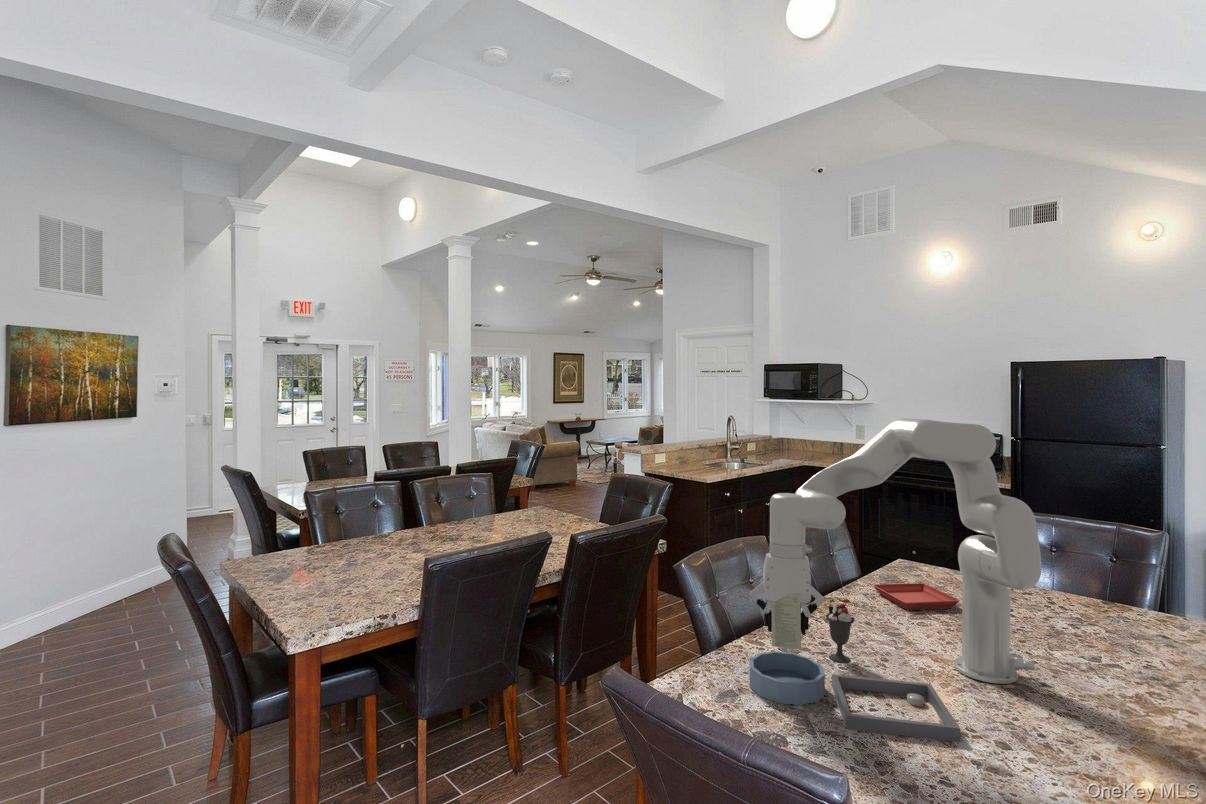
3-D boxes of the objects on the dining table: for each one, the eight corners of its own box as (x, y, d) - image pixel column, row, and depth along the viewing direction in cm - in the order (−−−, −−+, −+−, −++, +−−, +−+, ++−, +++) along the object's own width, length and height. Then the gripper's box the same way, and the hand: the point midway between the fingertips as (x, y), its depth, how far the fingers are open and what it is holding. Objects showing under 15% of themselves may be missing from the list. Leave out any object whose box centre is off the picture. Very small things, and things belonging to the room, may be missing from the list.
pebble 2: (921, 700, 128) (921, 694, 128) (925, 708, 125) (925, 701, 125) (905, 698, 129) (905, 692, 129) (908, 706, 126) (908, 699, 126)
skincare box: (801, 643, 135) (801, 588, 135) (800, 650, 130) (801, 594, 130) (771, 639, 137) (772, 585, 137) (770, 646, 132) (771, 591, 132)
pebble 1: (871, 719, 121) (871, 712, 121) (875, 728, 118) (875, 721, 118) (854, 717, 121) (854, 710, 121) (857, 726, 118) (857, 719, 118)
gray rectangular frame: (930, 695, 130) (930, 683, 130) (960, 742, 113) (960, 728, 113) (831, 685, 134) (831, 674, 134) (846, 728, 117) (846, 715, 117)
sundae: (857, 665, 144) (857, 603, 144) (827, 663, 146) (828, 601, 146) (851, 654, 151) (852, 594, 151) (823, 651, 152) (823, 592, 152)
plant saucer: (871, 593, 199) (871, 583, 199) (923, 592, 201) (923, 582, 201) (905, 613, 181) (905, 602, 181) (961, 611, 183) (961, 600, 183)
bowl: (818, 674, 140) (818, 655, 140) (828, 708, 124) (828, 686, 124) (749, 667, 143) (749, 648, 143) (750, 700, 128) (750, 678, 128)
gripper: (826, 548, 135) (825, 628, 135) (746, 543, 139) (745, 621, 139) (831, 557, 128) (830, 641, 128) (747, 551, 132) (746, 634, 132)
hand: (786, 630), depth 134 cm, fingers closed on skincare box, 6 cm apart
